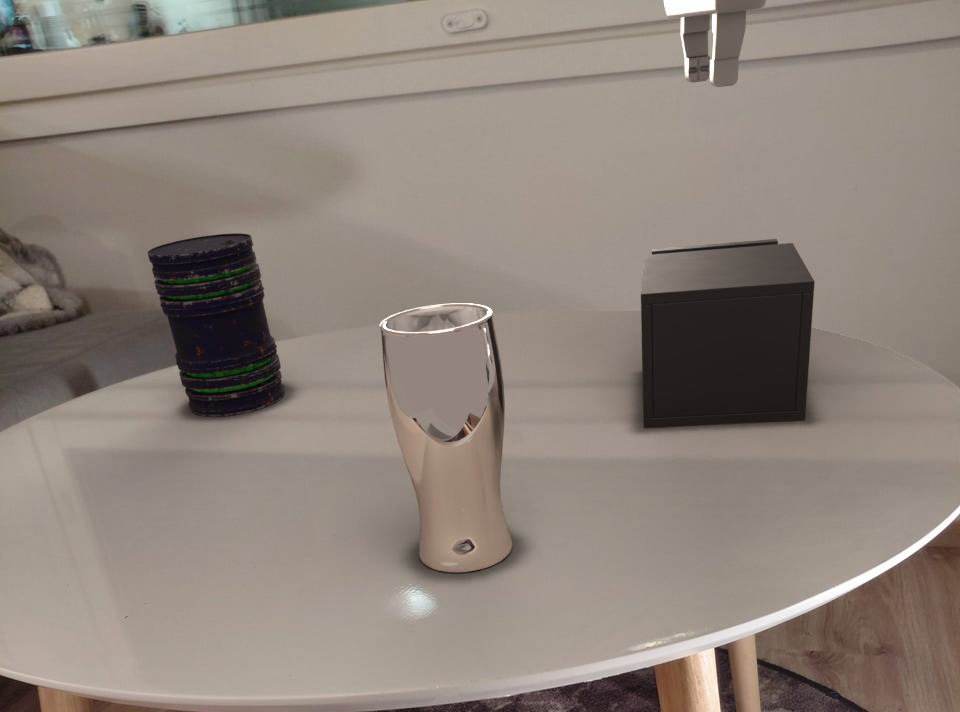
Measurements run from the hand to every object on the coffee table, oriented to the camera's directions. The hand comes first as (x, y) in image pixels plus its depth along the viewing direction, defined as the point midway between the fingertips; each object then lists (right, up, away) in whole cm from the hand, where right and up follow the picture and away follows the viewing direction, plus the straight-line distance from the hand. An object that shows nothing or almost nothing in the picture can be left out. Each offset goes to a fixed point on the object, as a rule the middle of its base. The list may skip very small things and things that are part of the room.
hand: (709, 83), depth 77 cm
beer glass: (-19, -38, -13) cm, 45 cm away
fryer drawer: (+4, -17, +15) cm, 23 cm away
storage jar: (-43, -20, +22) cm, 52 cm away
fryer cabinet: (+3, -23, +7) cm, 24 cm away
